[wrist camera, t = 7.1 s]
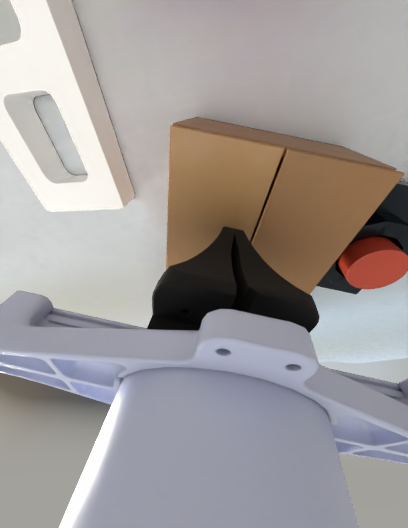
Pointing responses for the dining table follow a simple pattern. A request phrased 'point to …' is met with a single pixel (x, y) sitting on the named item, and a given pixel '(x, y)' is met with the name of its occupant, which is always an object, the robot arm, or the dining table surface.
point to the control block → (377, 233)
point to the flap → (214, 188)
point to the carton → (310, 201)
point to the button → (373, 263)
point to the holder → (70, 106)
